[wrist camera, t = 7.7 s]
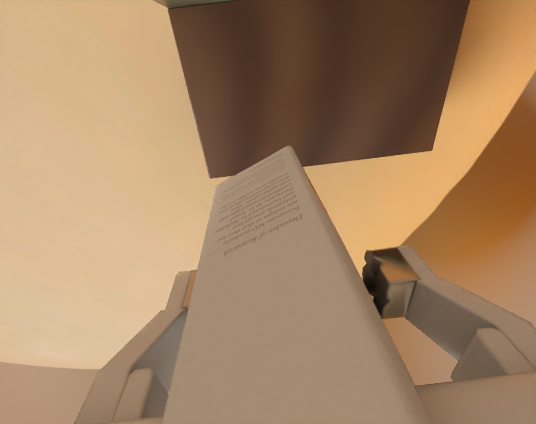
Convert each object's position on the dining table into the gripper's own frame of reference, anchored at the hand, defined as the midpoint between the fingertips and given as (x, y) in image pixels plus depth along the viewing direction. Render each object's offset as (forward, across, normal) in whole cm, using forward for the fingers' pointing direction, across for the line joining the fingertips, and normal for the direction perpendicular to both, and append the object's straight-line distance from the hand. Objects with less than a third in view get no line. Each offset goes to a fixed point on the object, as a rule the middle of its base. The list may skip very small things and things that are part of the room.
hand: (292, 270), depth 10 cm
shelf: (+23, -4, -4) cm, 24 cm away
